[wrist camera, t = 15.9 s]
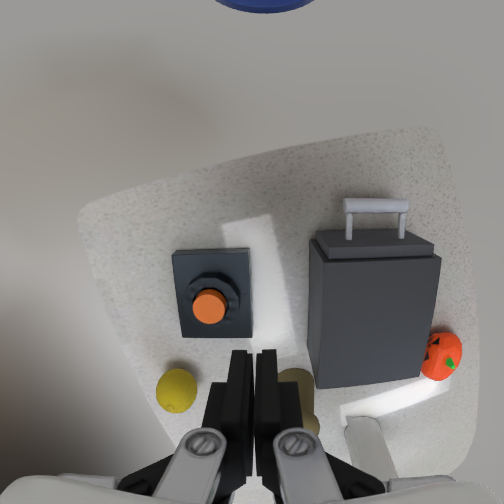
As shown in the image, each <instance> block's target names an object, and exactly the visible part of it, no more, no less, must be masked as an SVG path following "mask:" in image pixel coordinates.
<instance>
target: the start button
mask: <svg viewBox="0 0 504 504" xmlns="http://www.w3.org/2000/svg"><path fill="white" fill-rule="evenodd" d="M225 309H226V300H225V297H224V296H223V295H222V294H221V293H220V292H219V291H217V290H214V289H206V290H203V291H201V292H200V293H199V294H198V295H197V297H196V299H195V301H194V303H193V312H194V315H195V316H196V318H197V319H198V320H200V321H201V322H203V323H207V324H213V323H217V322H218V321H220V320H221V319H222V318H223V316H224V313H225Z"/></svg>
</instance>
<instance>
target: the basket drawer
mask: <svg viewBox="0 0 504 504" xmlns="http://www.w3.org/2000/svg"><path fill="white" fill-rule="evenodd" d="M408 210H409V202H408V200H407V199H393V198H344V200H343V211H344V213H346V230H342V231H316V242H317V243H318V245H319V246H320V248H321V249H322V251H323V252H324V254H325V255H326V256H327V258H328V259H329V260H352V259H378V258H403V257H410V256H432V255H433V250H434V244H432V243H430V242H428V241H426V240H424V239H422V238H420V237H418V236H416V235H414V234H412V233H410V232H408V231H406V230H405V213H407V212H408ZM352 213H399V218H398V230H352Z"/></svg>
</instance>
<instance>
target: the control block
mask: <svg viewBox="0 0 504 504" xmlns="http://www.w3.org/2000/svg"><path fill="white" fill-rule="evenodd" d="M172 264H173V273H174V281H175V289H176V297H177V304H178V311H179V318H180V325H181V332H182V337H183V338H252V336H253V320H252V298H251V276H250V254H249V248H237V249H206V250H177V251H175V252H174V253H173V254H172ZM206 289H214V290H217V291H219V292H220V293H221V294H222V295H223V296H224V297H225V300H226V309H225V313H224V316H223V318H222V319H221V320H220V321H218V322H217V323H213V324H207V323H203V322H201V321H200V320H198V319H197V318H196V316H195V315H194V312H193V303H194V301H195V299H196V297H197V295H198V294H199V293H200V292H201V291H203V290H206Z"/></svg>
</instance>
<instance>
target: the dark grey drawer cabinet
mask: <svg viewBox="0 0 504 504" xmlns="http://www.w3.org/2000/svg"><path fill="white" fill-rule="evenodd" d="M441 260H442V258H441V257H439V256H437V255H436V254H434V253H433V255H432V256H410V257H403V258H378V259H352V260H329V259H328V258H327V256H326V255H325V254H324V252H323V251H322V249H321V248H320V246H319V245H318V243H317V242H316V239H315V240H310V255H309V311H308V340H307V347H308V351H309V356H310V360H311V365H312V369H313V374H314V378H315V383H316V388H317V389H330V388H340V387H350V386H359V385H367V384H375V383H382V382H389V381H396V380H402V379H408V378H414V377H419V375H420V371H421V367H422V363H423V359H424V355H425V351H426V347H427V342H428V338H429V333H430V328H431V324H432V318H433V313H434V308H435V302H436V296H437V290H438V283H439V276H440V268H441Z"/></svg>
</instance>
